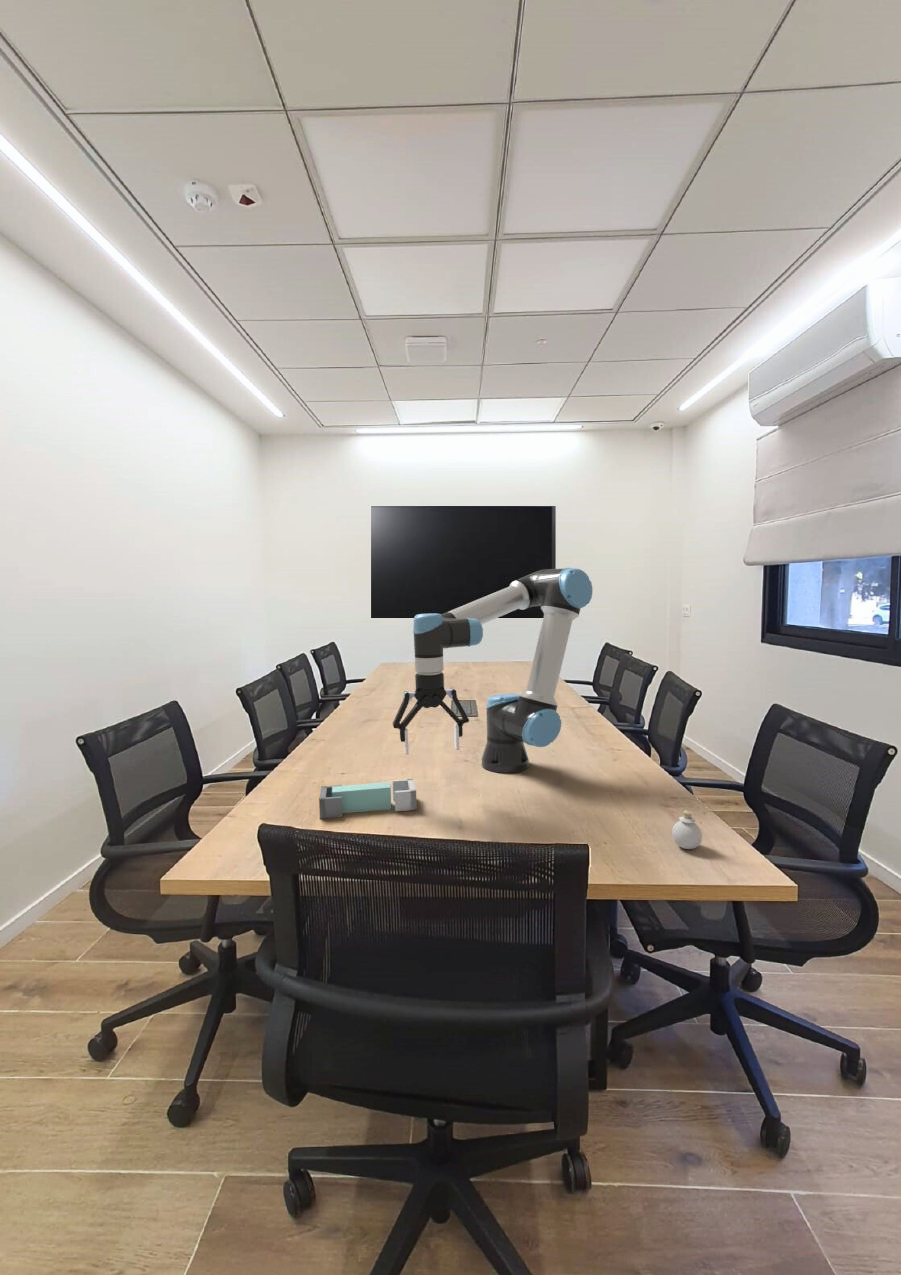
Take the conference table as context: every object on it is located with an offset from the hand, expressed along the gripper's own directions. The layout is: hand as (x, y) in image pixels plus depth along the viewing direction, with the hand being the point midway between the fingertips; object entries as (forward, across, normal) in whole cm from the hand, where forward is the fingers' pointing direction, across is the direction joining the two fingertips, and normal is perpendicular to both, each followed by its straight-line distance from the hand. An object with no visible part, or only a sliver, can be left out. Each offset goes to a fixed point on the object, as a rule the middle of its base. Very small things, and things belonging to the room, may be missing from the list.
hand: (432, 751), depth 144 cm
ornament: (+15, -51, +37) cm, 65 cm away
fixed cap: (+14, +27, 0) cm, 30 cm away
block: (+14, +19, 0) cm, 24 cm away
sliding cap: (+14, +8, 0) cm, 16 cm away
